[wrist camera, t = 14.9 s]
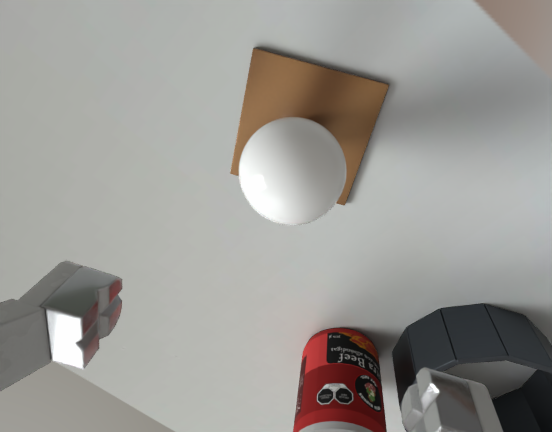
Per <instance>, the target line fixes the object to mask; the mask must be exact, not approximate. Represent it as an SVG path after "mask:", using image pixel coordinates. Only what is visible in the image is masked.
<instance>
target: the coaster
mask: <svg viewBox="0 0 552 432" xmlns="http://www.w3.org/2000/svg"><path fill="white" fill-rule="evenodd" d="M388 87H389V85H388V84H385V83H382V82H378V81H374V80H371V79H367V78H363V77H360V76H356V75H352V74H349V73H345V72H341V71H338V70H334V69H330V68H327V67H323V66H319V65H316V64H312V63H308V62H304V61H301V60H297V59H293V58H290V57H286V56H282V55H279V54H275V53H271V52H268V51H264V50H260V49H257V48H253V52H252V58H251V63H250V69H249V74H248V80H247V85H246V90H245V96H244V101H243V107H242V112H241V118H240V123H239V129H238V134H237V139H236V145H235V150H234V156H233V161H232V167H231V172H230V174H234V175H237V176H239V162H240V157H241V154H242V151H243V149H244V147H245V145H246V143H247V142H248V140H249V139H250V137H251V136H252V135H253V134H254V133H255V132H256V131H257V130H258V129H259V128H261V127H262V126H264V125H265V124H267V123H269V122H271V121H273V120H276V119H280V118H285V117H301V118H306V119H310V120H312V121H315V122H317V123H319V124H320V125H322V126H324V127H325V128H326V129H327V130H329V131H330V132H331V133H332V134H333V136H334V137H335V138H336V139H337V141H338V142H339V144H340V146H341V148H342V150H343V153H344V156H345V160H346V168H347V174H346V182H345V186H344V189H343V191H342V194H341V196H340V198H339V199H338V201H337V202H336V203H337V204H341V205H345V203H346V201H347V198H348V195H349V193H350V190H351V187H352V185H353V182H354V179H355V176H356V174H357V171H358V168H359V166H360V163H361V160H362V158H363V155H364V152H365V149H366V147H367V144H368V141H369V139H370V136H371V133H372V130H373V128H374V125H375V122H376V120H377V117H378V114H379V112H380V109H381V106H382V103H383V101H384V98H385V95H386V93H387V90H388Z"/></svg>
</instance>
